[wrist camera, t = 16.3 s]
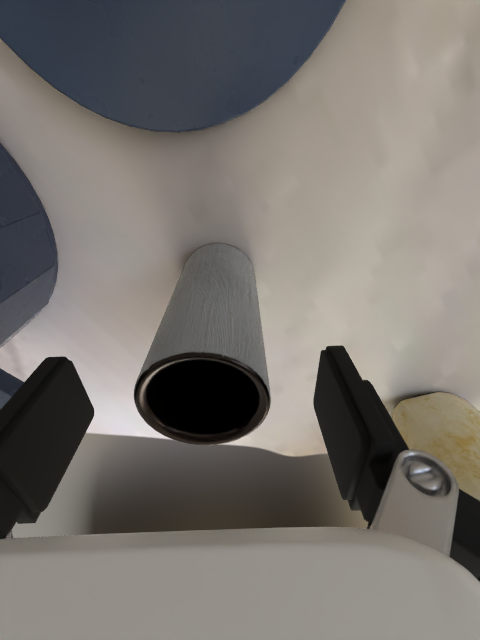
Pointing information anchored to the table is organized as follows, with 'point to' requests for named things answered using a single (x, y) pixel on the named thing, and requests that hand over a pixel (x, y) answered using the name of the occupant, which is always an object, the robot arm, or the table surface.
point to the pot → (22, 259)
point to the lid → (166, 54)
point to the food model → (444, 434)
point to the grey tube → (208, 354)
